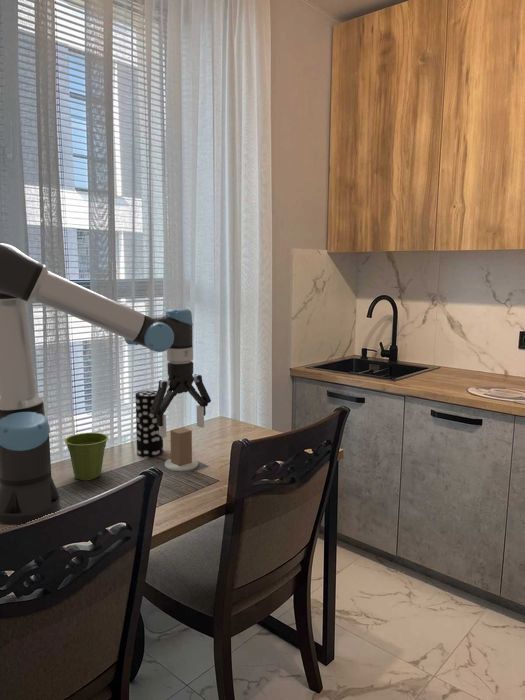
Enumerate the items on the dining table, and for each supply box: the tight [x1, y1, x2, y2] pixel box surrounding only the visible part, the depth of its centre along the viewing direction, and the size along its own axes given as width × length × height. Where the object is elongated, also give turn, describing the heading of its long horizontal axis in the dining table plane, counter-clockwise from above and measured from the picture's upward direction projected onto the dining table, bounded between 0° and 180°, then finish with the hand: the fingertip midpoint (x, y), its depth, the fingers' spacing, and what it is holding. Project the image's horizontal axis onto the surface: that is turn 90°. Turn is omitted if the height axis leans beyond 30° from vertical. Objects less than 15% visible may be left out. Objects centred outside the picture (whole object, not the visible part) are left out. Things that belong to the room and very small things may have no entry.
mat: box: [153, 460, 210, 478], centre depth 161 cm, size 12×12×1 cm
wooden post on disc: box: [164, 427, 199, 472], centre depth 160 cm, size 10×10×11 cm
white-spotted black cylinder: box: [135, 390, 164, 458], centre depth 170 cm, size 8×8×20 cm
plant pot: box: [64, 432, 109, 481], centre depth 152 cm, size 12×12×11 cm
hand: (182, 431), depth 159 cm, fingers open, 13 cm apart
